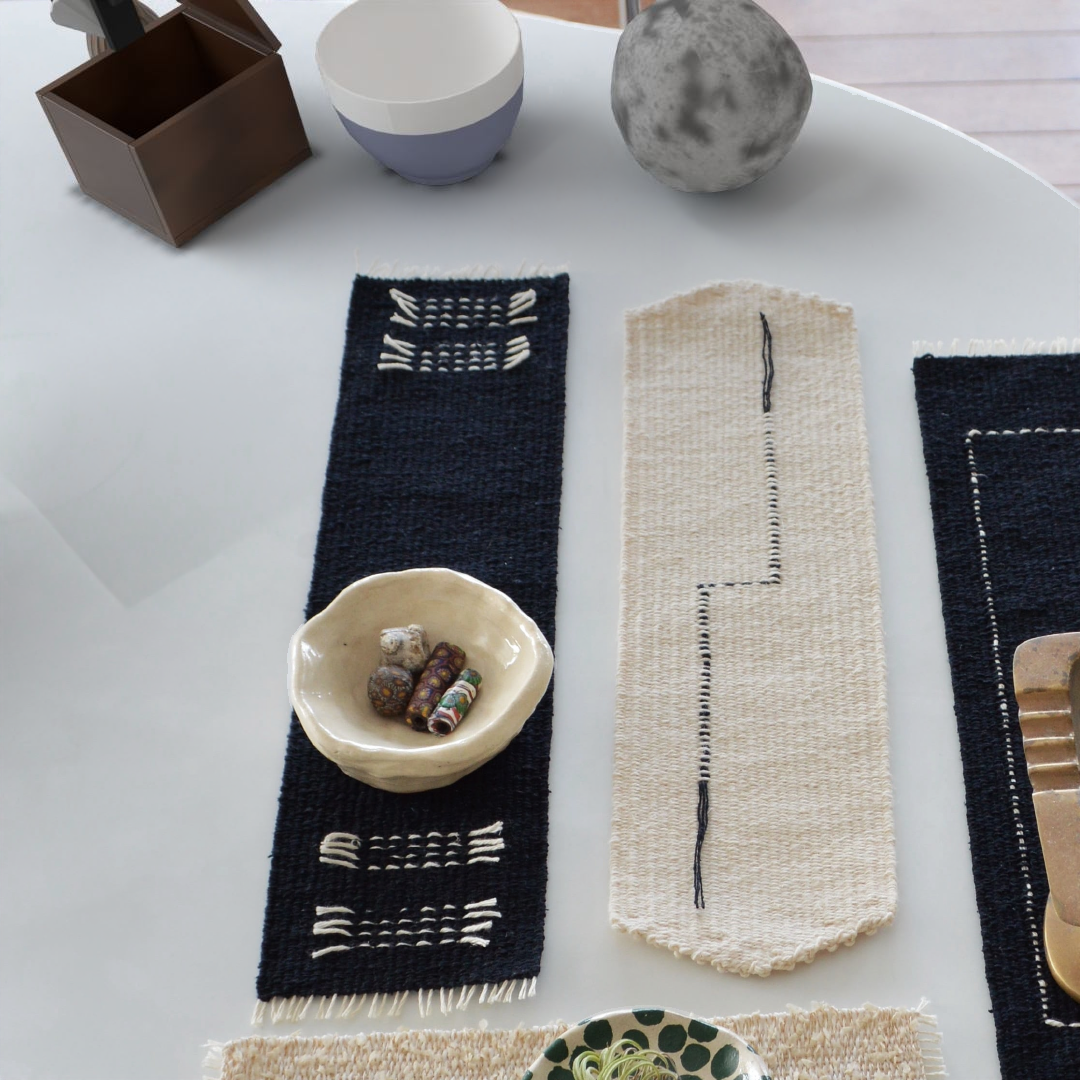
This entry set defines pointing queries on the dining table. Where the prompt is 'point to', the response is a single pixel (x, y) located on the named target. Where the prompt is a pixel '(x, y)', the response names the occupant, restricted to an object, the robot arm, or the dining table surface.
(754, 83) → the stone
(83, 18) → the grey rounded piece
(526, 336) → the dining table surface
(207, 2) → the lid
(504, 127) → the bowl
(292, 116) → the chest
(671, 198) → the dining table surface
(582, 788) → the dining table surface
